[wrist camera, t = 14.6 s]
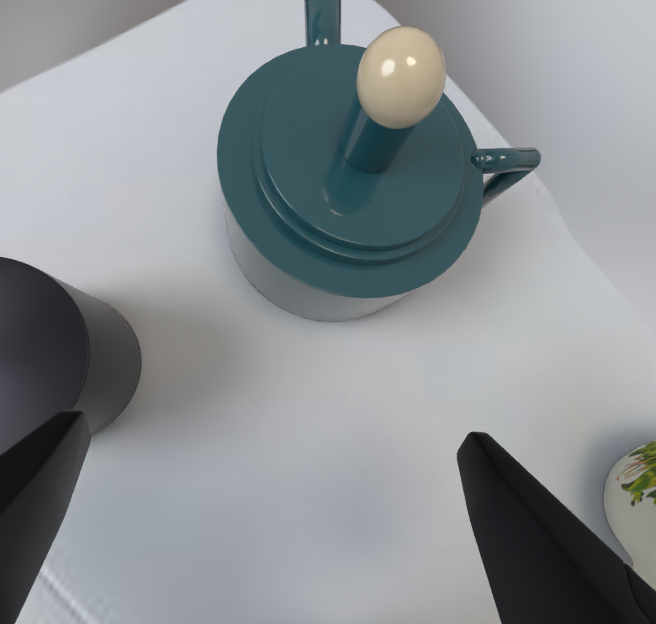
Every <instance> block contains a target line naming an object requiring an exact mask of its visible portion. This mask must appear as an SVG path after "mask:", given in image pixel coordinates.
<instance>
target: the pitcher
mask: <svg viewBox="0 0 656 624" xmlns="http://www.w3.org/2000/svg"><path fill="white" fill-rule="evenodd" d="M604 507H605V513H606V517H607V520H608V523H609V525H610V528H611V529H612V531H613V533H614V535H615V536H616V538H617V539H618V540H619V541H620V543H621V544H622V546H623V547H624V549H625V551H626V552H627V553H628V555H629V556H630V557H631V559H632V561H633V570H634V571H635V572H636V573H637V574H638V575H639V576H640V577H641V578H642V579H643V580H644V581H645V582H646V583H647V584H649V585H650V586H651V587H652V588H653V589H654V590H655V591H656V440H655V441H652V442H649V443H647V444H644V445H642V446H640V447H638V448H636V449H634V450H633V451H632V452H630V453H629V454H627V455H626V456H624V457H622V458H621V459H620V460H618V461H617V462H616V464H615V465H614V466H613V468H612V469H611V471H610V473H609V475H608V477H607V480H606V484H605V490H604Z"/></svg>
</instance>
